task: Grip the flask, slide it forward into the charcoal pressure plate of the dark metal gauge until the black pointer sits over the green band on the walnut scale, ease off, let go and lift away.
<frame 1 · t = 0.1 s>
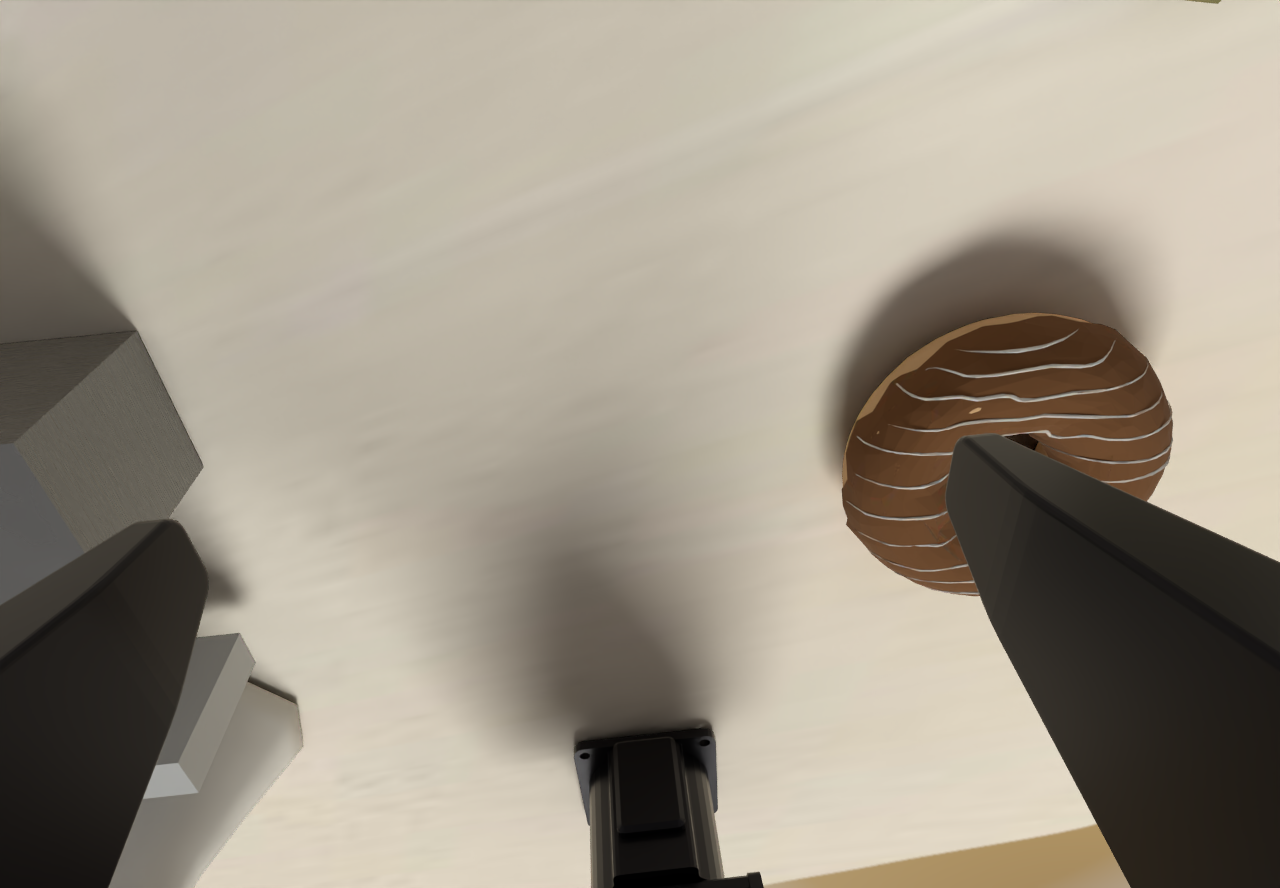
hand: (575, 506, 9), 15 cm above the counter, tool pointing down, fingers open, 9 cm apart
flask: (220, 718, 33), on the counter
gauge housing: (122, 569, 28), on the counter
donut: (972, 428, 27), on the counter
gauge plunger: (18, 698, 25), point 4 cm above the counter, slide at 0.0 cm
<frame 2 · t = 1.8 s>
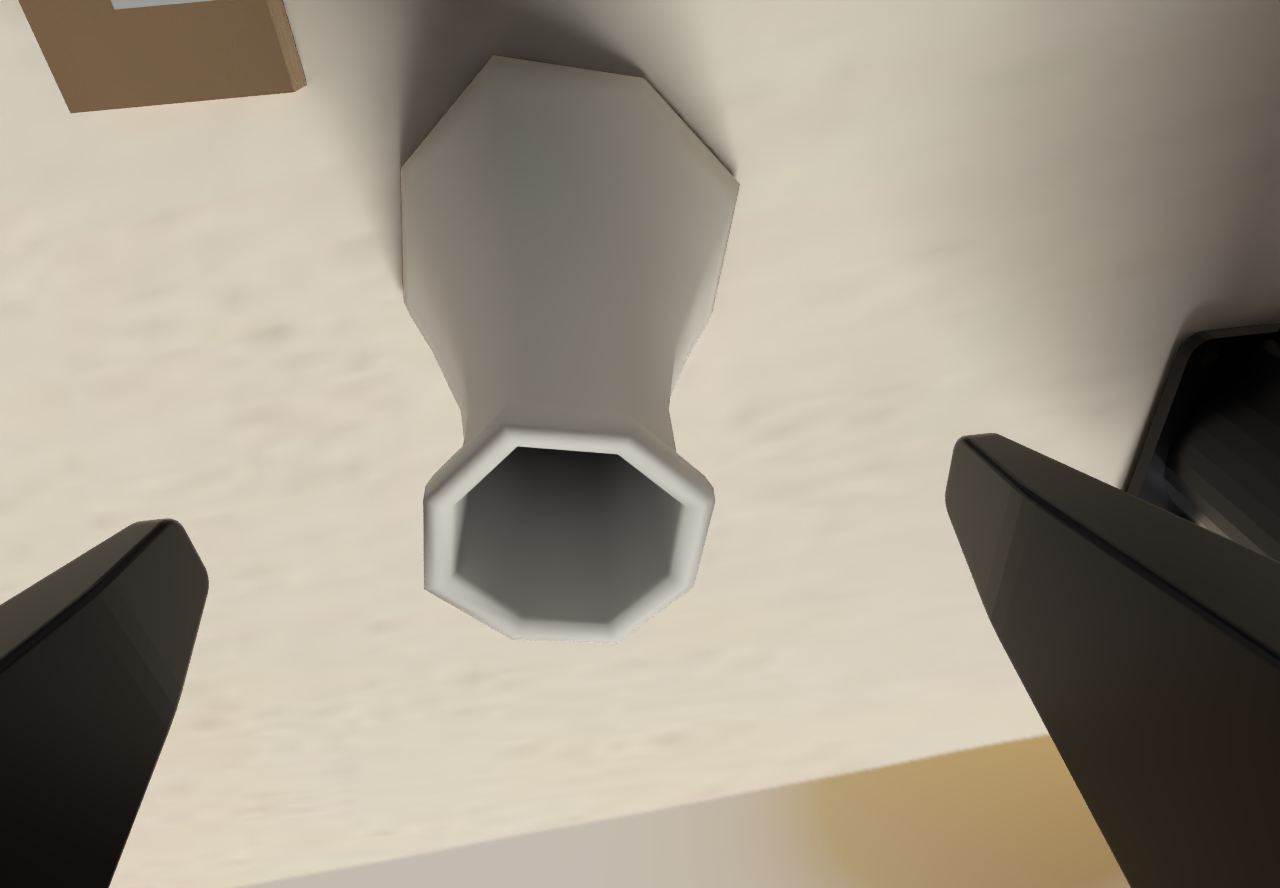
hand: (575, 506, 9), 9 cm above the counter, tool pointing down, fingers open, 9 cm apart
flask: (567, 236, 17), on the counter
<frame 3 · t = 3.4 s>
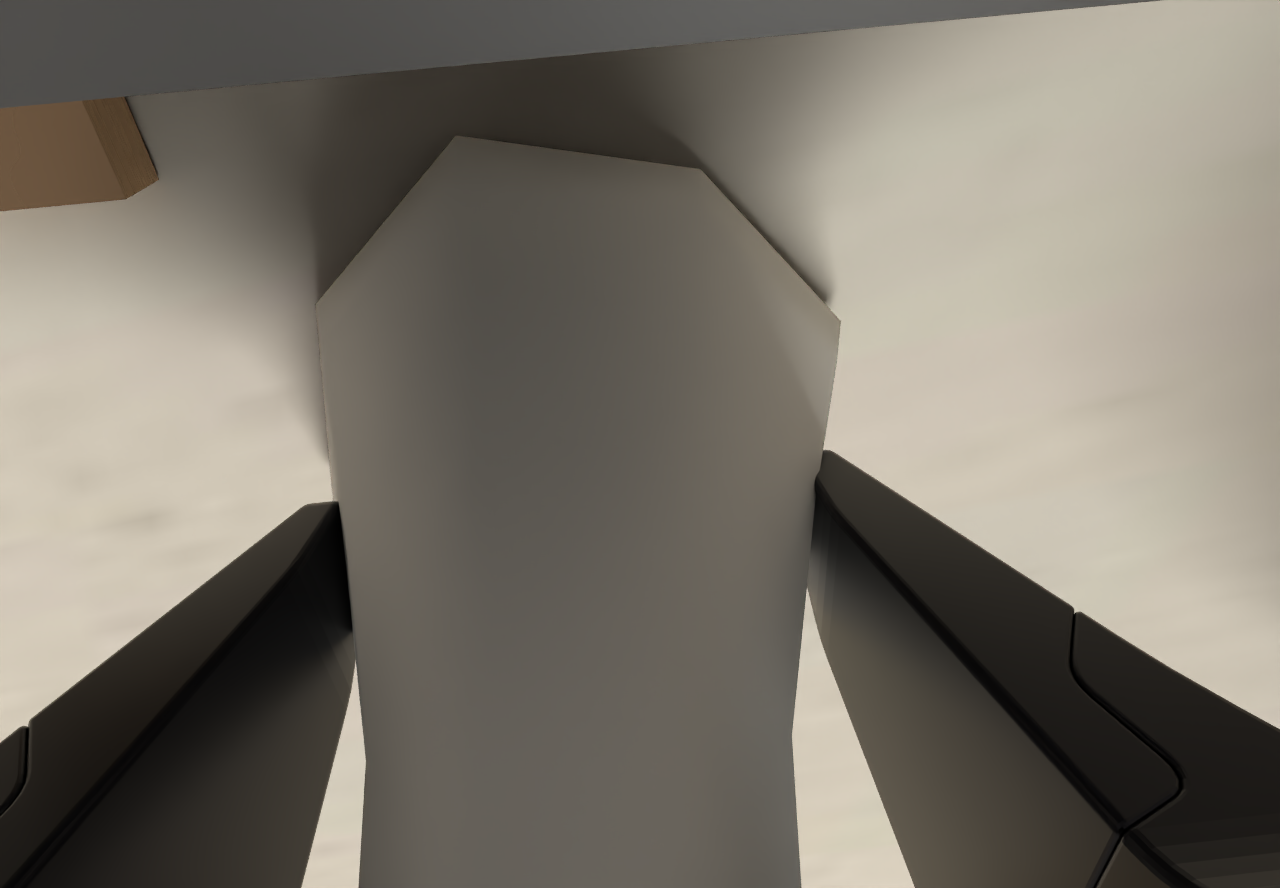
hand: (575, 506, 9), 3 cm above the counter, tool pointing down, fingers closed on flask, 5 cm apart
flask: (575, 389, 11), on the counter, touching gripper
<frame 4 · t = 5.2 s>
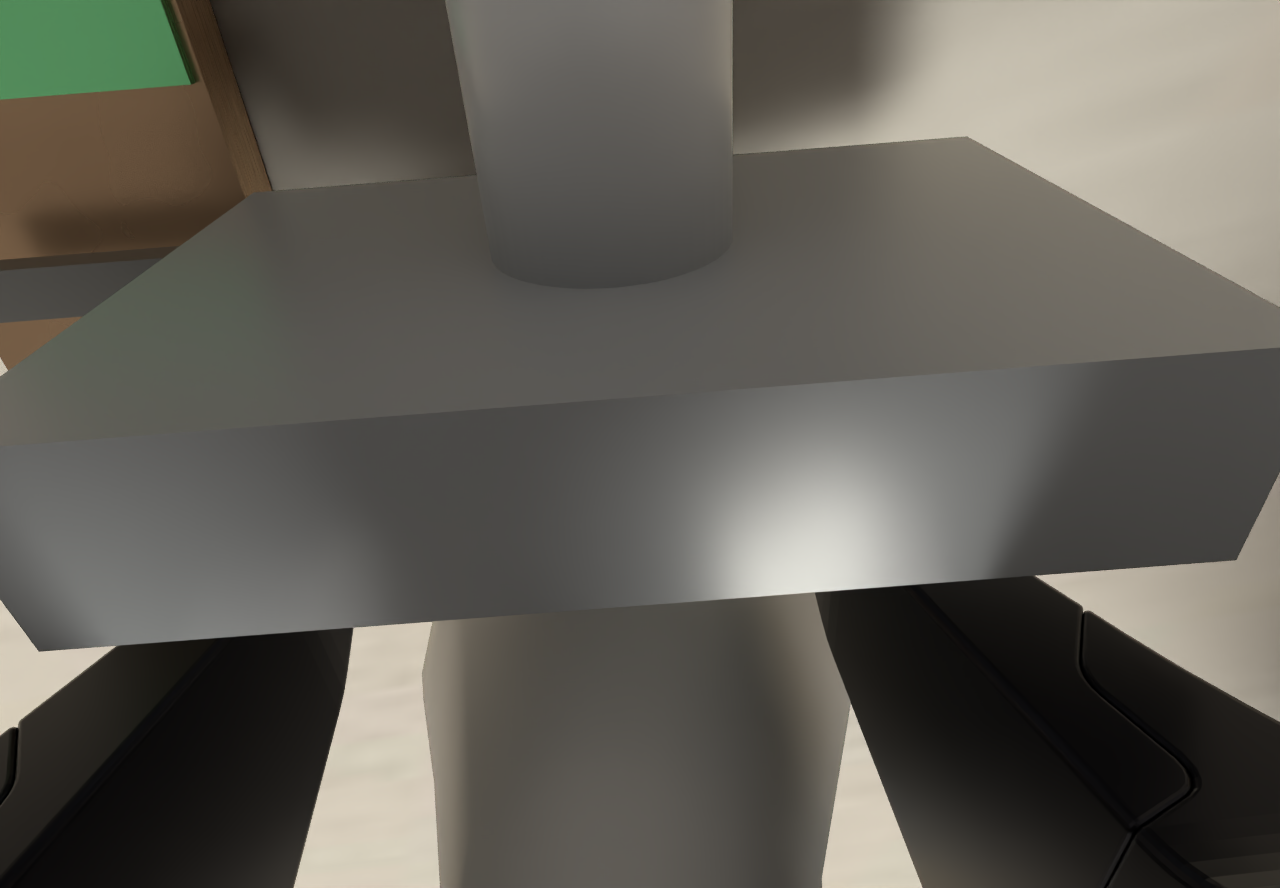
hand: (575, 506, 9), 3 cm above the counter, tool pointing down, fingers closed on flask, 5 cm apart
flask: (645, 616, 13), point 1 cm above the counter, touching gripper
gauge housing: (600, 28, 9), on the counter
gauge plunger: (349, 174, 6), point 4 cm above the counter, slide at 1.0 cm, touching gripper
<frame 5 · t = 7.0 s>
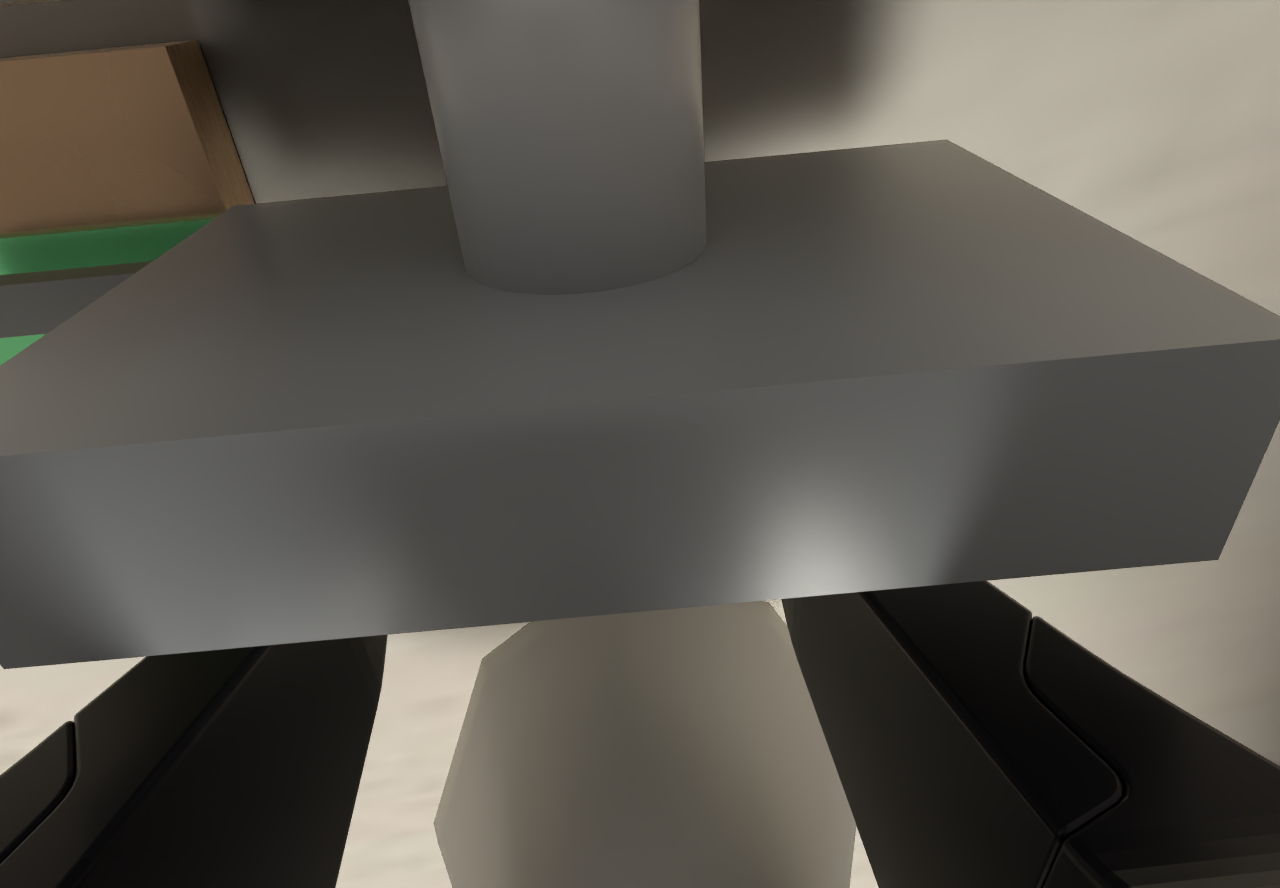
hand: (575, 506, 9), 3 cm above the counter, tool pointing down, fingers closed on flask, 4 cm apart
flask: (653, 770, 14), point 2 cm above the counter, touching gripper
gauge housing: (606, 285, 11), on the counter
gauge plunger: (320, 184, 6), point 4 cm above the counter, slide at 4.1 cm
when the fingers open (3 cm above the counter, at t = 8.2 s): flask stays where it is, point 2 cm above the counter.
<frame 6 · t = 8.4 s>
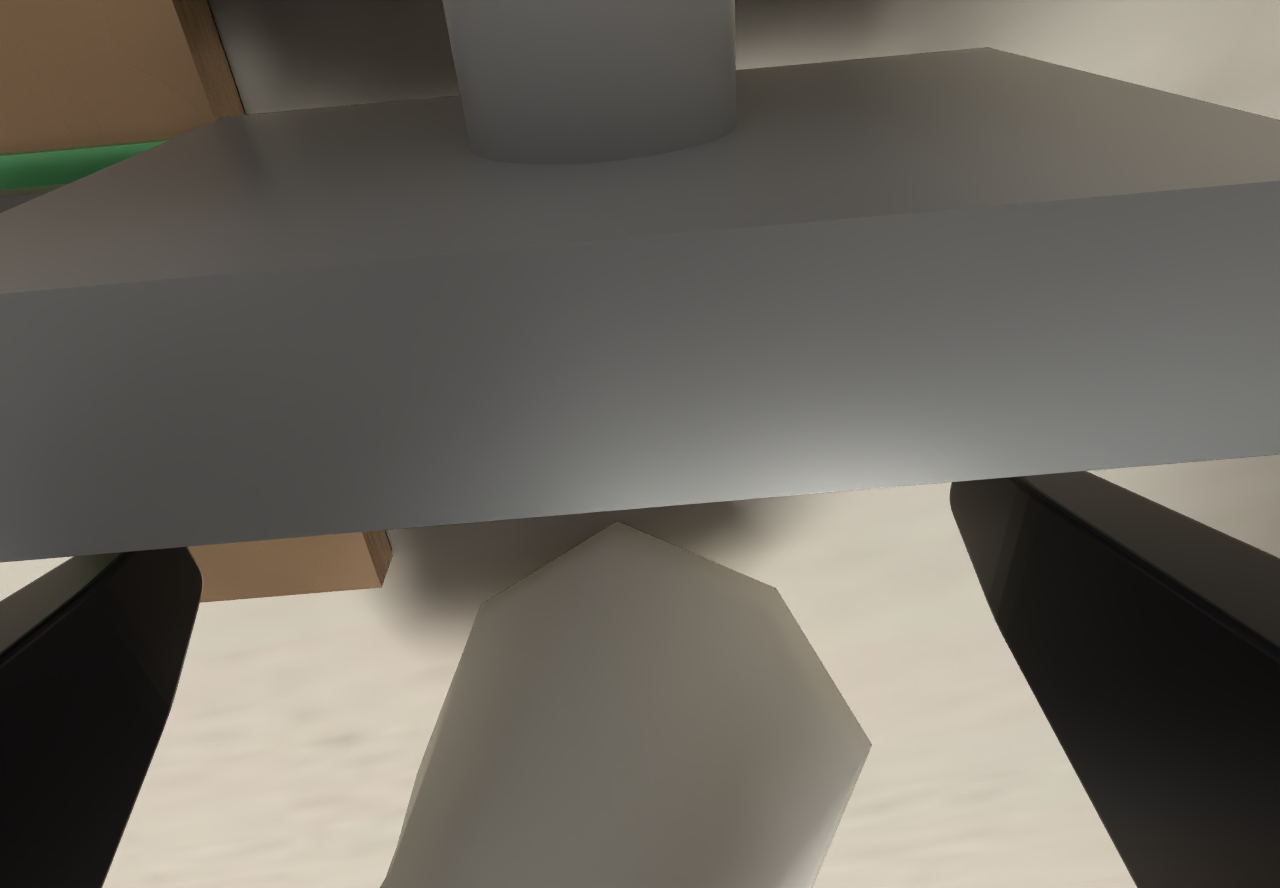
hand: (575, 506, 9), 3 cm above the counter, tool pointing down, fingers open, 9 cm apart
flask: (641, 738, 13), point 2 cm above the counter, touching gripper
gauge housing: (619, 221, 10), on the counter
gauge plunger: (312, 52, 5), point 4 cm above the counter, slide at 4.1 cm
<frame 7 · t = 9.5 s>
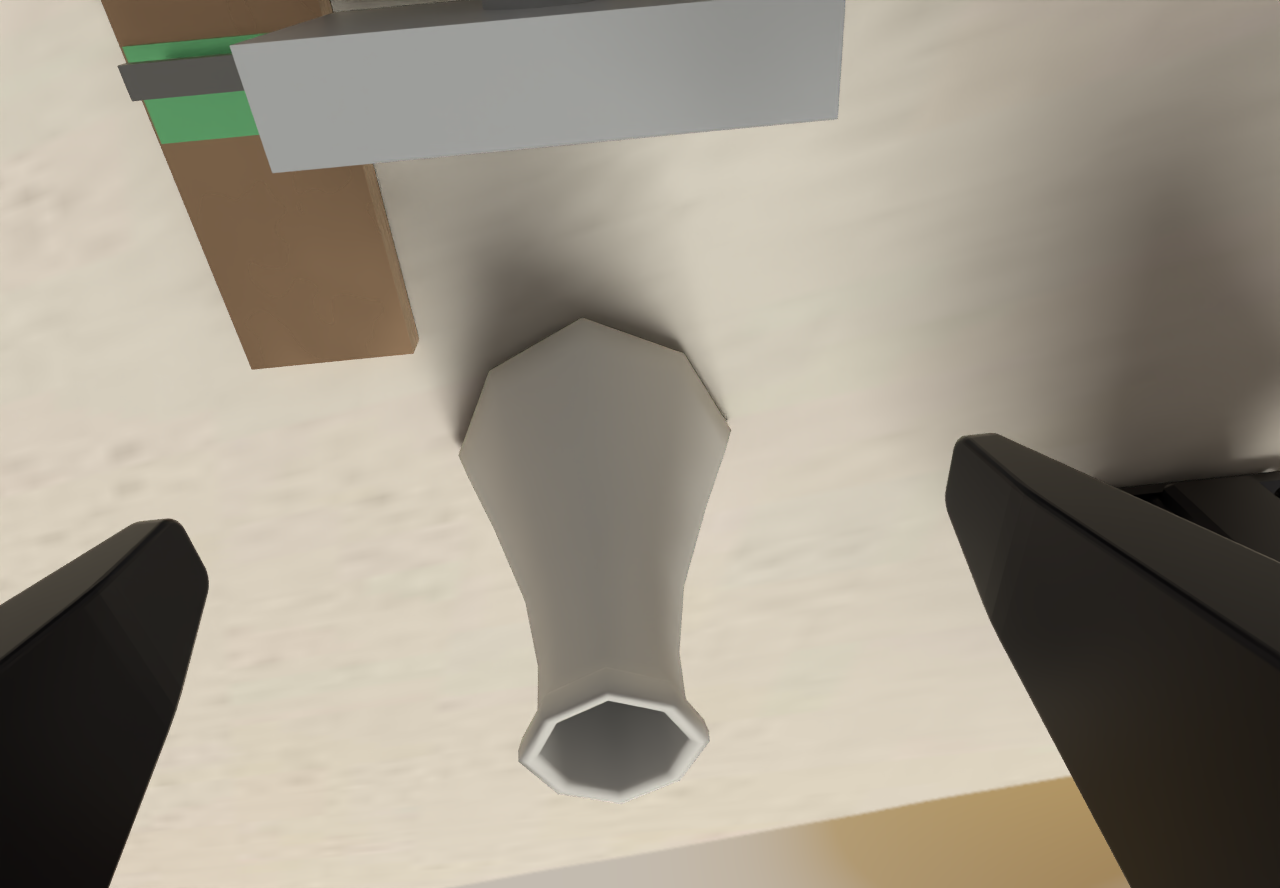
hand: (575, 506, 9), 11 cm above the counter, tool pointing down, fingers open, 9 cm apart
flask: (595, 433, 22), on the counter
gauge housing: (565, 90, 17), on the counter
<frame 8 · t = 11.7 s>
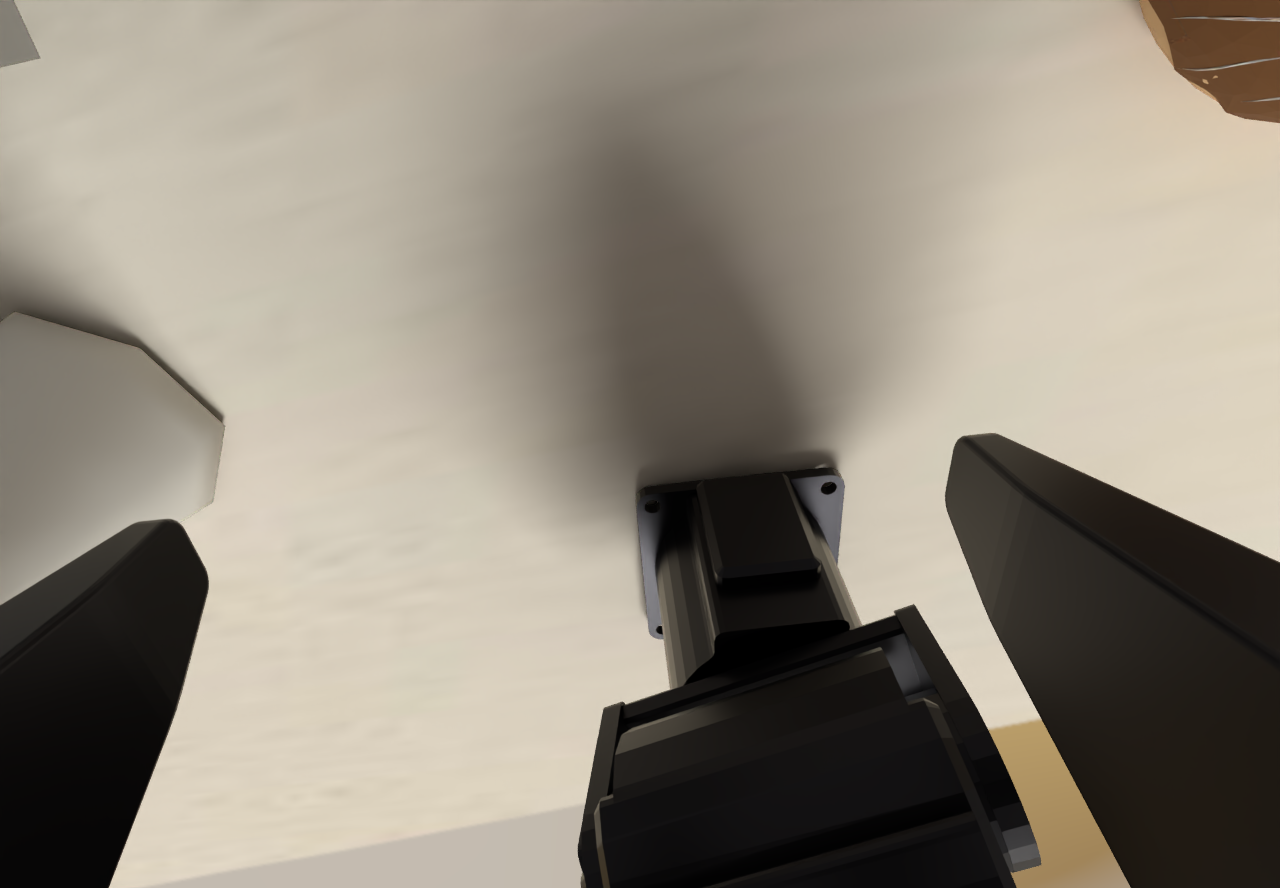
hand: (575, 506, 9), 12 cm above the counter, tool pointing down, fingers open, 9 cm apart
flask: (94, 429, 22), on the counter
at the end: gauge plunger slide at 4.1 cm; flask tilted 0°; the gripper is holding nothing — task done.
